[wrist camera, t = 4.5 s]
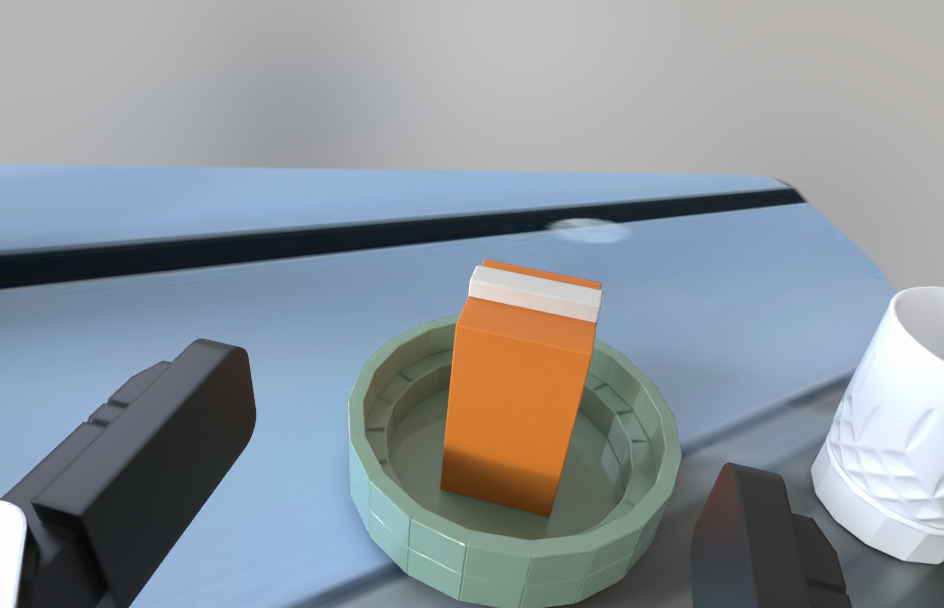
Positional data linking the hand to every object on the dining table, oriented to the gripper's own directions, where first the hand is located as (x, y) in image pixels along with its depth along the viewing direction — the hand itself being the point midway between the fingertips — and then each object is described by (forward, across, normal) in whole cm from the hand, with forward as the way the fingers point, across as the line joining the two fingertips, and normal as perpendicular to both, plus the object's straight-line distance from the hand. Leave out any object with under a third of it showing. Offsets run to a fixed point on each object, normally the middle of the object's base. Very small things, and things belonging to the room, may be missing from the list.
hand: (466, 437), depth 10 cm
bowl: (+13, 0, +15) cm, 20 cm away
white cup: (+17, -18, +16) cm, 29 cm away
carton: (+13, 0, +15) cm, 20 cm away
